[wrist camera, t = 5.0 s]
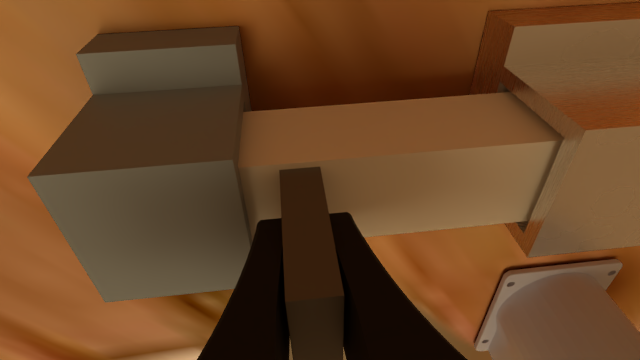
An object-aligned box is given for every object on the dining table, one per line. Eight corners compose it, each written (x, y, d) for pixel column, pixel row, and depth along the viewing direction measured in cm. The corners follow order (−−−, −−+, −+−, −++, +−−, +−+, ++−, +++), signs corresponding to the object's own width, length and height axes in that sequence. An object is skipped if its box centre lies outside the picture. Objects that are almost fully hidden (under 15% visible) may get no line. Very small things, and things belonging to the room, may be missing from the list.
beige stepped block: (705, -2, 15) (927, 58, 10) (616, 161, 20) (735, 257, 15) (488, 11, 15) (607, 81, 10) (450, 176, 20) (516, 282, 15)
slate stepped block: (238, 26, 14) (222, 110, 9) (263, 193, 19) (262, 310, 14) (97, 34, 14) (-4, 126, 9) (160, 202, 19) (120, 326, 14)
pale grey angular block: (532, 88, 15) (732, 245, 8) (506, 164, 17) (650, 334, 10) (150, 116, 14) (51, 319, 7) (175, 193, 16) (116, 400, 9)
